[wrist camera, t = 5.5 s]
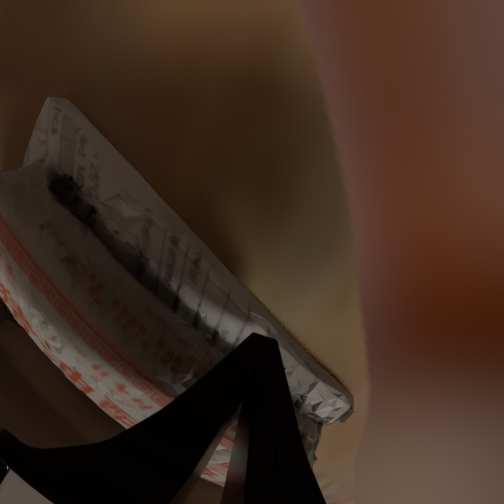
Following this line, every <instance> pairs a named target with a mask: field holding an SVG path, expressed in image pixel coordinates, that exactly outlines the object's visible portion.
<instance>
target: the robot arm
mask: <svg viewBox="0 0 504 504" xmlns="http://www.w3.org/2000/svg"><path fill="white" fill-rule="evenodd" d="M242 399H243V400H242ZM241 402H242V404H241ZM240 404H241V409H240V414H239V419H238V424H237V429H236V433H235V438H234V443H233V448H232V452H231V457H230V462H229V466H228V471H227V476H226V480H225V485H224V489H223V494H222V498H221V503H220V504H326V502H325V500H324V497H323V495H322V492H321V490H320V488H319V485H318V483H317V480H316V478H315V475H314V473H313V470H312V468H311V465H310V462H309V460H308V457H307V454H306V451H305V447H304V444H303V441H302V437H301V433H300V429H299V425H298V421H297V417H296V413H295V409H294V405H293V401H292V397H291V393H290V389H289V385H288V380H287V376H286V372H285V368H284V364H283V360H282V356H281V352H280V348H279V344H278V341H277V340H276V339H274V338H271V337H268V336H264V335H262V334H259V333H256V332H252V333H251V334H250V335H249V336H248V337H246V338H245V339H244V340H243V341H242V342H241V343H240V344H239V345H238V346H236V347H235V348H234V349H233V350H232V351H231V352H230V353H229V354H227V355H226V356H225V357H224V358H223V359H222V360H221V361H219V362H218V363H217V364H216V365H215V366H214V367H212V368H211V369H210V370H209V371H208V372H207V373H205V374H204V375H203V376H202V377H201V378H200V379H198V380H197V381H196V382H195V383H194V384H192V385H191V386H190V387H189V388H188V389H187V390H185V392H183V393H181V394H180V395H179V396H178V397H177V398H175V399H174V400H173V401H171V402H170V403H169V404H167V405H166V406H165V407H163V408H162V409H160V410H159V411H157V412H156V413H154V414H152V415H151V416H149V417H148V418H146V419H144V420H142V421H140V422H139V423H137V424H135V425H133V426H132V427H130V428H128V429H126V430H124V431H122V432H121V433H119V434H117V435H115V436H113V437H111V438H108V439H106V440H103V441H99V442H95V443H88V444H81V445H73V446H63V447H52V448H36V447H31V446H29V445H26V444H24V443H23V442H21V441H20V440H19V439H18V438H16V437H15V436H14V435H13V434H12V433H11V432H10V431H9V430H8V429H6V428H5V427H4V426H2V425H0V504H185V502H186V500H187V499H188V497H189V495H190V494H191V492H192V490H193V489H194V487H195V485H196V484H197V482H198V480H199V478H200V477H201V475H202V473H203V471H204V470H205V468H206V466H207V464H208V463H209V461H210V459H211V457H212V456H213V454H214V452H215V450H216V448H217V447H218V445H219V443H220V441H221V439H222V438H223V436H224V434H225V432H226V430H227V428H228V426H229V425H230V423H231V421H232V419H233V417H234V415H235V413H236V411H237V409H238V407H239V406H240ZM6 465H7V466H8V467H9V468H8V470H7V466H6Z"/></svg>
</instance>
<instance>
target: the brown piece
mask: <svg viewBox="0 0 504 504" xmlns="http://www.w3.org/2000/svg"><path fill="white" fill-rule="evenodd" d="M0 425H2V426H4V427H5V428H6V429H8V430H9V431H10V432H11V433H12V434H13V435H14V436H15V437H16V438H18V439H19V440H20V441H21V442H23V443H24V444H26V445H29V446H31V447H36V448H52V447H63V446H73V445H81V444H88V443H95V442H99V441H103V440H106V439H108V438H111V437H113V436H115V435H117V434H119V433H121V432H122V431H124V430H126V428H125V427H124V426H122V425H121V424H120V423H119V422H117V421H116V420H115V419H114V418H112V417H111V416H110V415H109V414H107V413H106V412H105V411H104V410H102V409H101V408H100V407H99V406H98V405H97V404H96V403H95V402H94V401H93V400H92V399H90V398H89V397H88V396H87V395H86V394H85V393H84V392H83V391H81V390H80V389H78V388H77V387H76V385H75V384H74V383H73V382H71V381H70V380H69V379H68V378H67V377H66V376H65V374H64V373H63V372H62V370H61V369H60V368H59V367H57V366H56V365H55V364H54V363H53V362H52V361H51V359H50V358H49V357H48V356H47V355H46V354H45V353H44V352H43V351H42V350H41V349H40V348H39V347H38V345H37V344H36V343H35V342H34V340H33V339H32V338H31V337H30V336H29V334H28V333H26V332H25V331H24V330H22V329H21V328H20V327H18V326H17V325H16V324H15V323H13V322H12V321H11V320H10V319H8V317H7V314H6V311H5V308H4V305H3V303H2V300H1V297H0ZM223 489H224V487H222V486H221V485H219V484H216V483H213V482H210V481H208V480H205V479H203V478H201V477H200V478H199V480H198V482H197V484H196V485H195V487H194V489H193V490H192V492H191V494H190V495H189V497H188V499H187V500H186V502H185V504H220V503H221V498H222V494H223Z"/></svg>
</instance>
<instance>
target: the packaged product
mask: <svg viewBox="0 0 504 504" xmlns="http://www.w3.org/2000/svg"><path fill="white" fill-rule="evenodd" d="M0 297H1V299H2V300H3V302H4V303H5V304H6V305H7V307H8V308H9V310H10V311H11V312H12V314H13V316H14V317H15V319H16V320H17V322H18V323H19V324H20V325H21V326H22V327H23V328H24V329H25V331H26V332H27V333H28V334H29V336H30V337H31V338H32V339H33V340H34V342H35V343H36V344H37V345H38V347H39V348H40V349H41V350H42V351H43V352H44V353H45V354H46V355H47V356H48V357H49V358H50V359H51V361H52V362H53V363H54V364H55V365H56V366H57V367H59V368H60V369H61V370H62V372H63V373H64V374H65V376H66V377H67V378H68V379H69V380H70V381H71V382H73V383H74V384H75V385H76V387H77V388H78V389H80V390H81V391H83V392H84V393H85V394H86V395H87V396H88V397H89V398H90V399H92V400H93V401H94V402H95V403H96V404H97V405H98V406H99V407H100V408H101V409H102V410H104V411H105V412H106V413H107V414H109V415H110V416H111V417H112V418H114V419H115V420H116V421H117V422H119V423H120V424H121V425H122V426H124V427H125V428H126V429H128V428H130V427H132V426H133V425H135V424H137V423H139V422H140V421H142V420H144V419H146V418H148V417H149V416H151V415H152V414H154V413H156V412H157V411H159V410H160V409H162V408H163V407H165V406H166V405H167V404H169V403H170V402H171V401H173V400H174V399H175V398H177V397H178V396H179V395H180V394H181V393H183V392H185V390H187V389H188V388H189V387H190V386H191V385H192V384H194V383H195V382H196V381H197V380H198V379H200V378H201V377H202V376H203V375H204V374H205V373H207V372H208V371H209V370H210V369H211V368H212V367H214V366H215V365H216V364H217V363H218V362H219V361H221V360H222V359H223V358H224V357H225V356H226V355H227V354H229V353H230V352H231V351H232V350H233V349H234V348H235V347H236V346H238V345H239V344H240V343H241V342H242V341H243V340H244V339H245V338H246V337H248V336H249V335H250V334H251V333H252V332H256V333H259V334H262V335H264V336H268V337H271V338H274V339H276V340H277V341H278V344H279V348H280V352H281V356H282V360H283V364H284V368H285V372H286V376H287V380H288V385H289V389H290V393H291V397H292V401H293V405H294V409H295V413H296V417H297V421H298V425H299V429H300V433H301V437H302V441H303V444H304V447H305V451H306V454H307V457H308V460H309V462H310V465H311V468H312V469H313V464H314V463H315V462H316V461H317V458H316V456H315V454H314V453H315V450H316V448H317V446H318V444H319V441H320V438H321V433H322V427H323V426H324V425H328V424H331V423H335V422H342V423H344V422H345V421H346V420H347V419H348V418H349V417H350V415H351V414H352V413H353V412H354V397H353V396H352V394H351V393H350V392H348V391H347V390H346V389H345V388H344V387H343V386H342V385H341V384H340V383H339V382H338V381H337V380H335V379H334V378H333V377H332V376H331V375H330V374H329V373H328V372H327V371H326V370H325V369H323V368H322V367H321V366H320V365H319V364H318V363H317V362H316V361H315V360H314V359H313V358H312V357H311V356H310V355H309V354H308V353H307V352H306V350H305V349H304V348H303V347H302V346H301V345H300V344H299V343H298V342H297V341H296V340H295V339H294V338H293V337H292V335H291V334H290V333H289V332H288V331H287V330H286V329H285V328H284V327H283V326H282V325H281V323H280V322H279V321H278V320H277V319H276V318H275V317H274V316H273V315H272V314H271V313H270V312H269V311H268V310H267V309H266V308H264V306H263V305H262V304H261V303H260V302H259V301H258V300H257V299H256V298H255V297H254V296H253V295H252V294H251V293H250V292H249V291H248V290H247V289H246V288H245V287H244V286H243V285H242V284H241V283H240V281H239V280H238V279H237V278H236V277H235V276H234V275H233V274H232V273H231V272H230V271H229V270H228V269H227V268H226V267H225V266H224V264H223V263H222V262H221V261H220V260H219V259H218V258H217V257H216V256H215V255H214V253H213V252H212V251H211V250H210V249H209V248H208V247H207V246H206V245H205V244H204V243H203V242H202V240H201V239H200V238H199V237H198V236H197V235H196V234H195V233H194V232H193V231H192V230H191V229H190V228H189V227H188V226H187V225H186V223H185V222H184V221H183V220H182V219H181V218H180V217H179V216H178V215H177V214H176V213H175V212H174V211H173V210H172V209H171V208H170V207H169V206H168V205H167V204H166V203H165V202H164V201H163V200H162V198H161V197H160V196H159V195H158V194H157V193H156V192H155V191H154V190H153V188H152V187H151V186H150V185H149V184H148V183H147V182H146V181H145V179H144V178H143V177H142V176H141V175H140V174H139V173H138V172H137V171H136V170H135V169H134V167H133V166H132V165H131V164H130V163H129V162H128V161H127V160H126V159H125V158H124V157H123V156H122V155H121V154H120V153H119V152H118V151H117V150H116V149H115V148H114V146H113V145H112V144H111V143H110V142H109V141H108V140H107V139H106V138H105V137H104V136H103V135H102V134H101V133H100V132H99V130H98V129H97V128H96V127H95V126H94V125H93V124H92V123H91V122H90V121H89V120H88V119H87V118H86V116H85V115H84V114H83V113H82V112H81V111H80V110H79V109H78V108H77V107H76V106H74V105H73V104H72V103H71V102H70V101H69V100H68V99H64V98H56V97H47V99H46V101H45V103H44V105H43V107H42V110H41V112H40V114H39V117H38V119H37V121H36V123H35V126H34V129H33V133H32V136H31V139H30V141H29V144H28V146H27V149H26V152H25V156H24V160H23V164H22V167H20V168H16V169H13V170H9V171H5V172H2V173H0ZM242 400H243V399H242ZM241 404H242V402H241ZM241 404H240V406H239V407H238V409H237V411H236V413H235V415H234V417H233V419H232V421H231V423H230V425H229V426H228V428H227V430H226V432H225V434H224V436H223V438H222V439H221V441H220V443H219V445H218V447H217V448H216V450H215V452H214V454H213V456H212V457H211V459H210V461H209V463H208V464H207V466H206V468H205V470H204V471H203V473H202V475H201V478H203V479H205V480H208V481H210V482H213V483H216V484H219V485H221V486H222V487H224V485H225V480H226V476H227V471H228V466H229V462H230V457H231V452H232V448H233V443H234V438H235V433H236V429H237V424H238V419H239V414H240V409H241Z"/></svg>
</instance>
